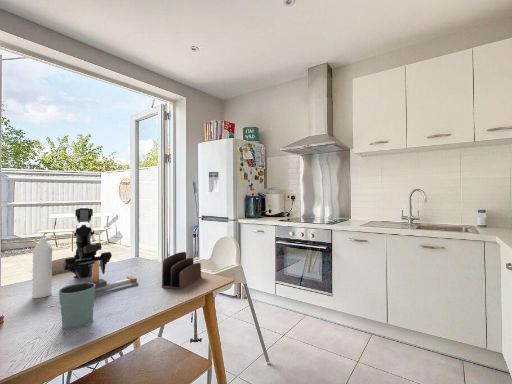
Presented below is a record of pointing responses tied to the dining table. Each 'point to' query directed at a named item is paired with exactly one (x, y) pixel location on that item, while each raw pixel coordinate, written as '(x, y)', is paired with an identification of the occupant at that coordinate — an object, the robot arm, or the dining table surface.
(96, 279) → the carriage
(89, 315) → the green planter pot
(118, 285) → the rail
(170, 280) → the letter holder
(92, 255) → the robot arm
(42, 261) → the water bottle
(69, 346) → the dining table surface
